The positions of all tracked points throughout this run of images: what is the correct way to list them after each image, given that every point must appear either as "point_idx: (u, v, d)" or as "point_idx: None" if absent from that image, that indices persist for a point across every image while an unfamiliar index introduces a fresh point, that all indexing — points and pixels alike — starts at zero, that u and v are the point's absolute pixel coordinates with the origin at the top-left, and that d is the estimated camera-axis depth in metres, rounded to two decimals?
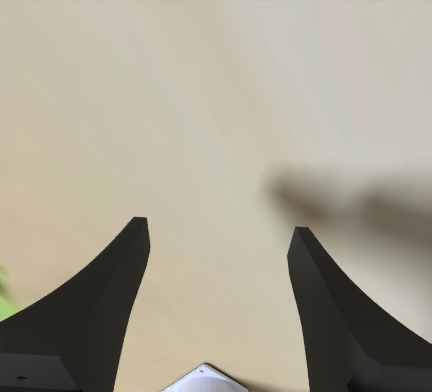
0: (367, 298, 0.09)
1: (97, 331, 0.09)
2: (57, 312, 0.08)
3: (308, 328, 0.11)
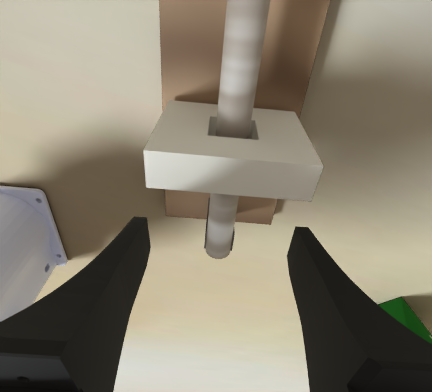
0: (367, 298, 0.09)
1: (97, 331, 0.09)
2: (57, 312, 0.08)
3: (308, 328, 0.11)
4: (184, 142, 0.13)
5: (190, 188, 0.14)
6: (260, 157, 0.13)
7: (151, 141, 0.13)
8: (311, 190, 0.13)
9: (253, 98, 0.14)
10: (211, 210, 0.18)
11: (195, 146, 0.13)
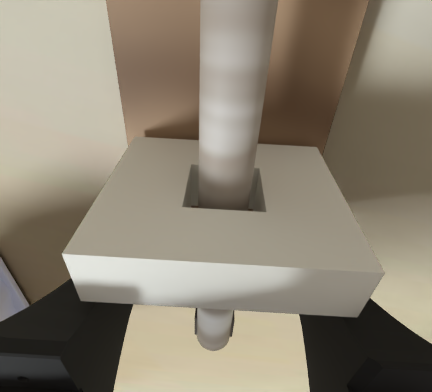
0: None
1: (97, 331, 0.09)
2: (57, 312, 0.08)
3: (308, 328, 0.11)
4: (140, 227, 0.08)
5: (153, 301, 0.08)
6: (270, 257, 0.07)
7: (83, 229, 0.08)
8: (359, 304, 0.08)
9: (254, 156, 0.09)
10: None
11: (157, 236, 0.08)
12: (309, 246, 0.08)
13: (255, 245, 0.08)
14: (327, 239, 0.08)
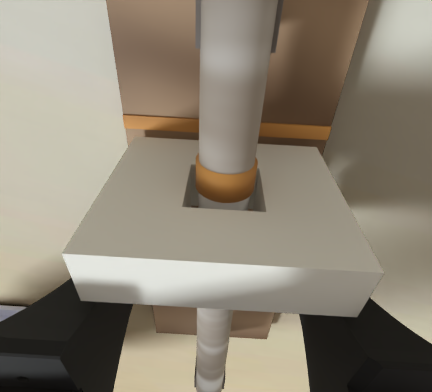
0: None
1: (97, 331, 0.09)
2: (57, 312, 0.08)
3: (308, 328, 0.11)
4: (140, 227, 0.08)
5: (153, 301, 0.08)
6: (270, 257, 0.07)
7: (83, 229, 0.08)
8: (359, 303, 0.08)
9: None
10: (198, 367, 0.17)
11: (157, 236, 0.08)
12: (309, 246, 0.08)
13: (255, 245, 0.08)
14: (327, 239, 0.08)
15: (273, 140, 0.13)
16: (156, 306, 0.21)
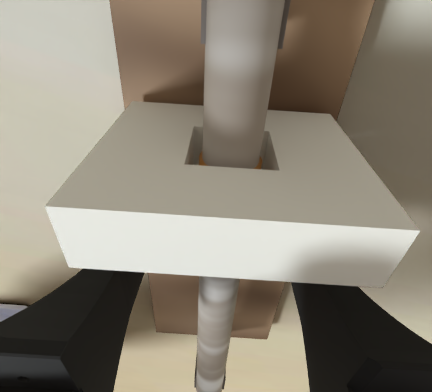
0: (367, 298, 0.09)
1: (97, 331, 0.09)
2: (57, 312, 0.08)
3: (308, 328, 0.11)
4: (136, 182, 0.07)
5: (151, 268, 0.07)
6: (286, 213, 0.06)
7: (71, 183, 0.07)
8: (386, 271, 0.07)
9: (236, 295, 0.13)
10: (198, 367, 0.17)
11: (156, 191, 0.07)
12: (330, 203, 0.07)
13: (268, 201, 0.07)
14: (350, 197, 0.07)
15: None
16: (156, 306, 0.21)
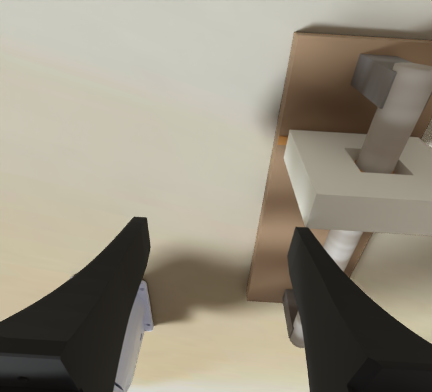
0: (367, 298, 0.09)
1: (97, 331, 0.09)
2: (57, 312, 0.08)
3: (308, 328, 0.11)
4: (346, 182, 0.13)
5: (351, 228, 0.13)
6: None
7: (315, 182, 0.13)
8: None
9: (349, 258, 0.19)
10: None
11: (361, 186, 0.13)
12: None
13: (420, 191, 0.13)
14: None
15: None
16: (254, 278, 0.27)
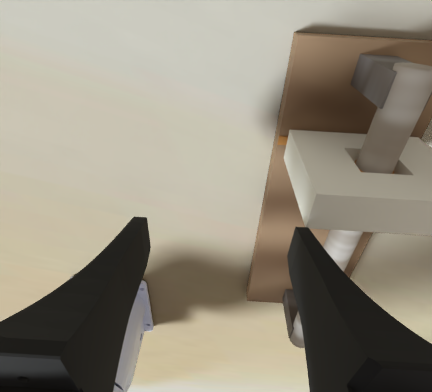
0: (367, 298, 0.09)
1: (97, 331, 0.09)
2: (57, 312, 0.08)
3: (308, 328, 0.11)
4: (346, 182, 0.13)
5: (351, 228, 0.13)
6: None
7: (315, 182, 0.13)
8: None
9: (349, 258, 0.19)
10: None
11: (361, 186, 0.13)
12: None
13: (420, 191, 0.13)
14: None
15: None
16: (254, 278, 0.27)
